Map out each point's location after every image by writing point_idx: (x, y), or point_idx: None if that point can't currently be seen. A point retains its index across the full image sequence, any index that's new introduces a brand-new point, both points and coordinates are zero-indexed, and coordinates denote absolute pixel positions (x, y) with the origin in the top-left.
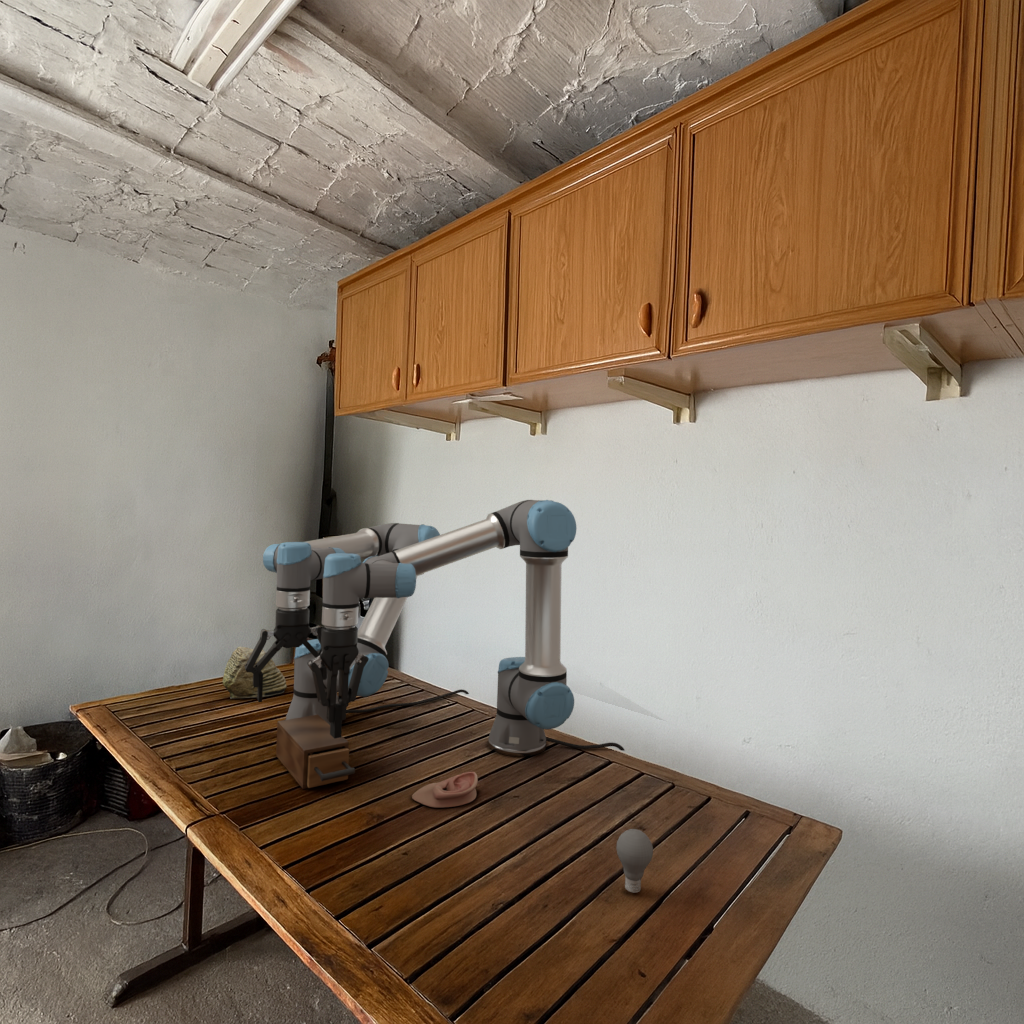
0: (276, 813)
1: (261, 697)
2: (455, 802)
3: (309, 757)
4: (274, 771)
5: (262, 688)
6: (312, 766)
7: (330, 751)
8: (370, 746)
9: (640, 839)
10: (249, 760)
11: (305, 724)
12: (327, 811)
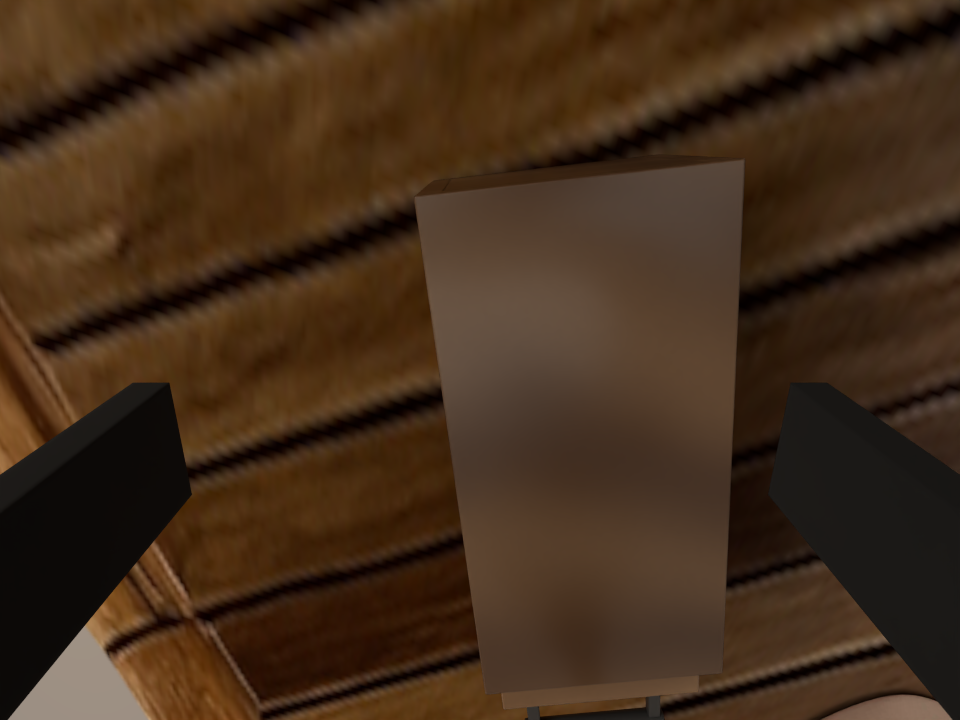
0: (371, 674)
1: (158, 525)
2: None
3: (502, 702)
4: (402, 366)
5: (106, 594)
6: None
7: (610, 683)
8: (921, 251)
9: None
10: (295, 185)
11: (590, 344)
12: (522, 713)
